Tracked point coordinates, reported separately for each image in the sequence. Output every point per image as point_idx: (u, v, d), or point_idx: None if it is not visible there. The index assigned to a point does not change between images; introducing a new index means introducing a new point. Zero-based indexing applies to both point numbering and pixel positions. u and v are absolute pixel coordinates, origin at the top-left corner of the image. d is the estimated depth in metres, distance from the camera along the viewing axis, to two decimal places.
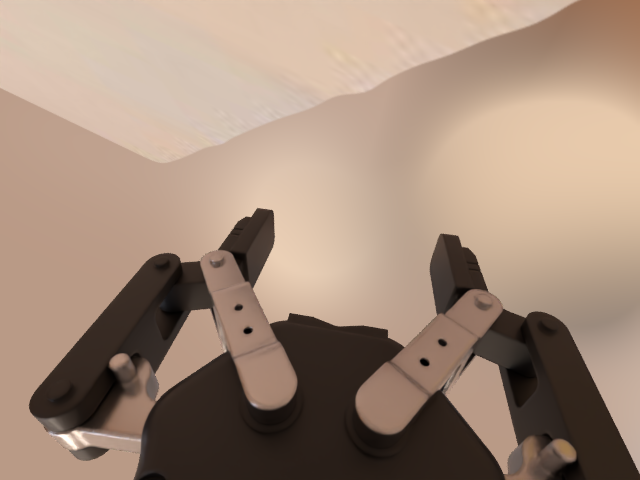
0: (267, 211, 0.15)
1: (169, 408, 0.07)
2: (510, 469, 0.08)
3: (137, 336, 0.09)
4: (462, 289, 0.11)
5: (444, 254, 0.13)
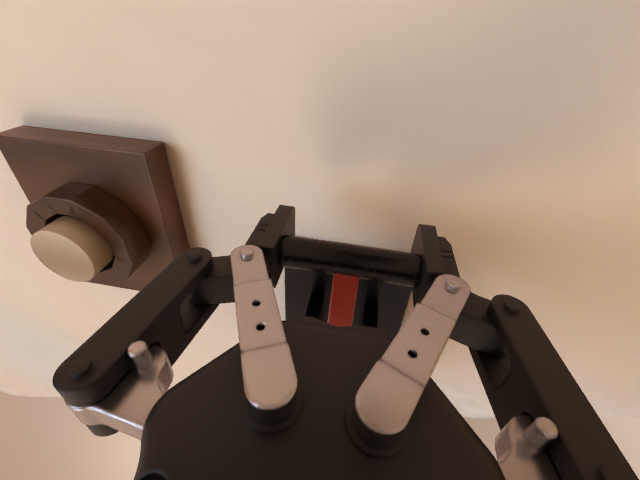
0: (290, 208, 0.15)
1: (170, 408, 0.07)
2: (499, 453, 0.08)
3: (159, 325, 0.10)
4: (434, 274, 0.12)
5: (420, 243, 0.14)
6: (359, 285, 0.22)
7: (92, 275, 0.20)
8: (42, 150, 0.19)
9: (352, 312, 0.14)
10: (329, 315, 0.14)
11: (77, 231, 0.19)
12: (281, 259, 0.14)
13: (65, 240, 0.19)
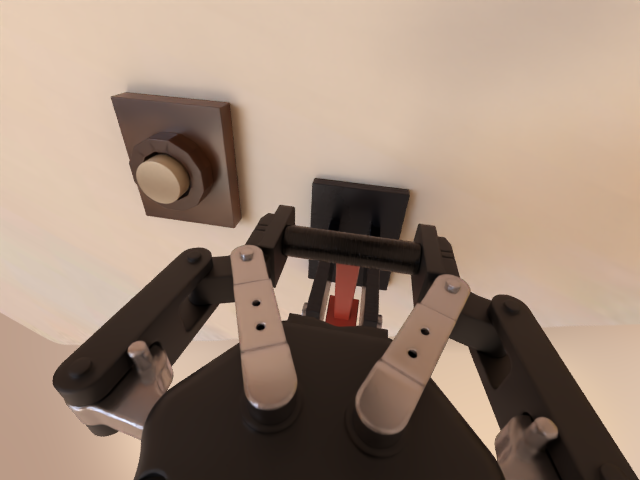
0: (289, 208, 0.15)
1: (169, 409, 0.07)
2: (498, 453, 0.08)
3: (159, 326, 0.10)
4: (434, 274, 0.12)
5: None
6: (367, 210, 0.30)
7: (177, 197, 0.28)
8: (146, 107, 0.27)
9: (356, 278, 0.16)
10: (336, 278, 0.16)
11: (170, 163, 0.27)
12: (286, 255, 0.14)
13: (163, 168, 0.27)
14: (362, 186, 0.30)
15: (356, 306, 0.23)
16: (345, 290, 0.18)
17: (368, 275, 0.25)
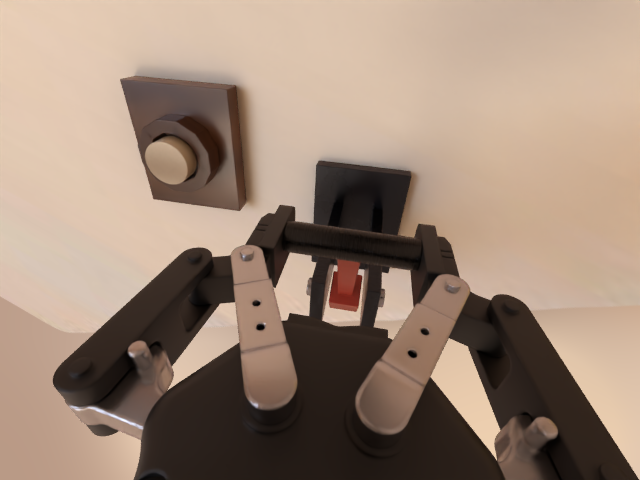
0: (290, 208, 0.15)
1: (170, 408, 0.07)
2: (498, 453, 0.08)
3: (159, 325, 0.10)
4: (434, 274, 0.12)
5: None
6: (369, 192, 0.31)
7: (184, 178, 0.29)
8: (154, 89, 0.28)
9: (357, 269, 0.16)
10: (338, 268, 0.17)
11: (178, 144, 0.28)
12: (287, 251, 0.15)
13: (171, 148, 0.27)
14: (365, 168, 0.30)
15: (359, 282, 0.24)
16: (347, 276, 0.18)
17: None
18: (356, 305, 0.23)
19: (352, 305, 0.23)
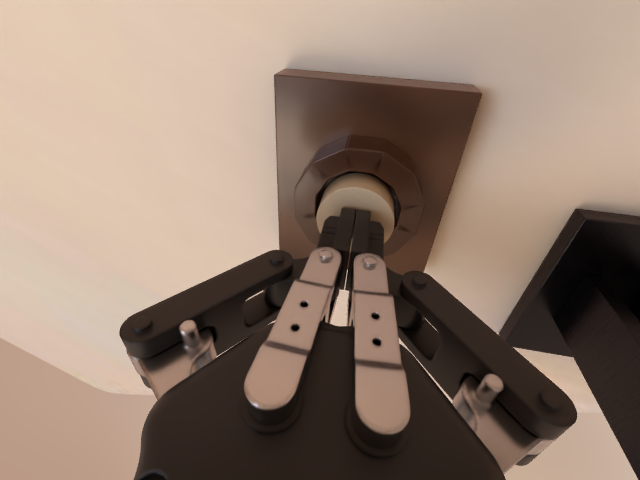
0: (352, 210, 0.15)
1: (169, 409, 0.07)
2: None
3: (218, 313, 0.10)
4: (357, 254, 0.13)
5: None
6: None
7: None
8: (336, 92, 0.16)
9: None
10: None
11: (381, 189, 0.16)
12: None
13: (376, 199, 0.15)
14: None
15: None
16: None
17: None
18: None
19: None
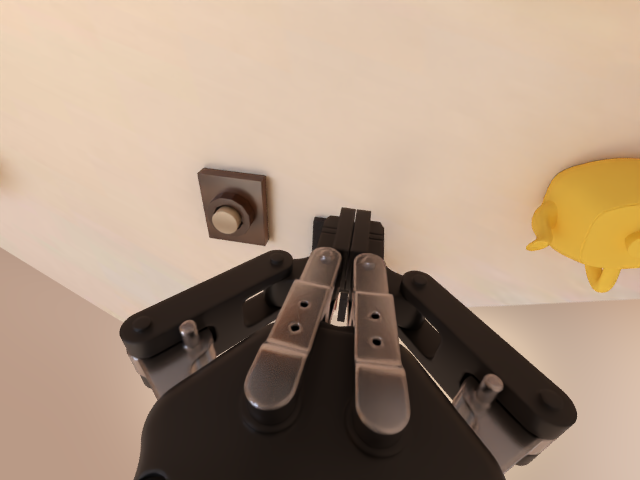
0: (352, 210, 0.15)
1: (169, 408, 0.07)
2: None
3: (218, 313, 0.10)
4: (357, 254, 0.13)
5: None
6: None
7: (235, 230, 0.49)
8: (217, 179, 0.48)
9: None
10: None
11: (232, 211, 0.48)
12: None
13: (229, 215, 0.47)
14: None
15: None
16: None
17: None
18: None
19: None
